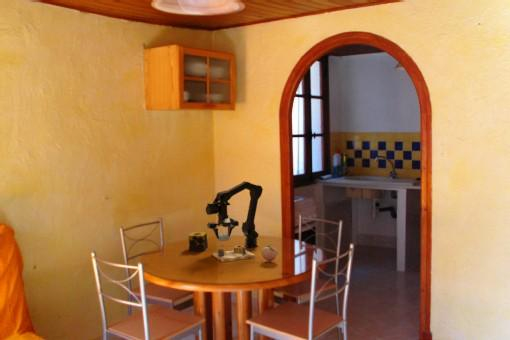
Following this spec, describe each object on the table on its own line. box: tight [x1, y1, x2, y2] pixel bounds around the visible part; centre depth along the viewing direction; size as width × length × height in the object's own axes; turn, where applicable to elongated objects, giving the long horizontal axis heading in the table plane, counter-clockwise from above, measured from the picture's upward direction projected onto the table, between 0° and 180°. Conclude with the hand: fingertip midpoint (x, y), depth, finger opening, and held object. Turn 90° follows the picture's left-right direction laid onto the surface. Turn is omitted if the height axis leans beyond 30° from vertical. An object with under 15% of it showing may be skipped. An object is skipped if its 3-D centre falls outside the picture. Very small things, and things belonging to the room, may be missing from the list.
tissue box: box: [188, 231, 209, 252], centre depth 308 cm, size 10×10×10 cm
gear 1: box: [217, 233, 230, 242], centre depth 301 cm, size 7×7×3 cm
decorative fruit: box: [261, 244, 279, 263], centre depth 276 cm, size 9×8×10 cm
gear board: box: [212, 244, 256, 263], centre depth 289 cm, size 20×16×5 cm
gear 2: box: [232, 244, 246, 253], centre depth 295 cm, size 7×7×3 cm
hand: (223, 238), depth 301 cm, fingers closed on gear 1, 7 cm apart
